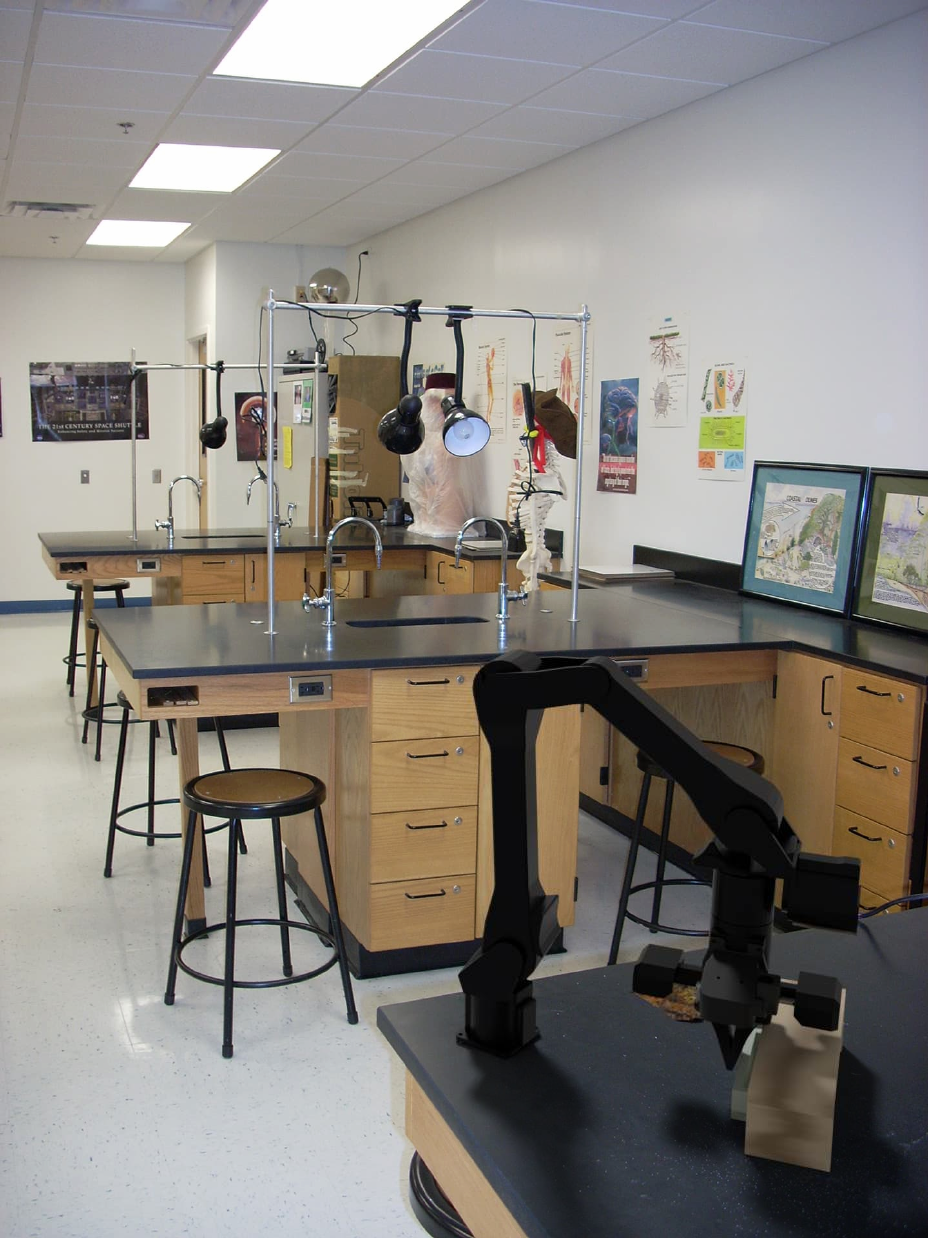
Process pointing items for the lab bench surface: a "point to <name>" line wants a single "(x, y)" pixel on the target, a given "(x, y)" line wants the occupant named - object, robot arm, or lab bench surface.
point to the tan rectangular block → (794, 1091)
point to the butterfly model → (677, 1003)
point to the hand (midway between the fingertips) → (730, 1069)
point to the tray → (744, 1076)
